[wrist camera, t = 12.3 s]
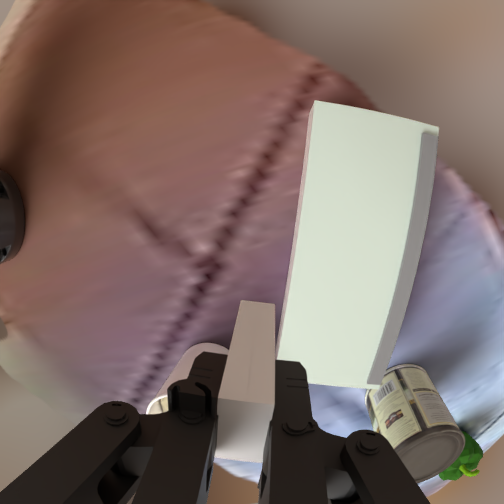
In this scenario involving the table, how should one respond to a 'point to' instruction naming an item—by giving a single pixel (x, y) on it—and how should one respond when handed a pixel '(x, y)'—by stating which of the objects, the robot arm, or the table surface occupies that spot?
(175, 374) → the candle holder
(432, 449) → the coffee can
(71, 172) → the table surface
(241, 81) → the table surface
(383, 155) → the pale green rectangular panel
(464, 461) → the bell pepper
